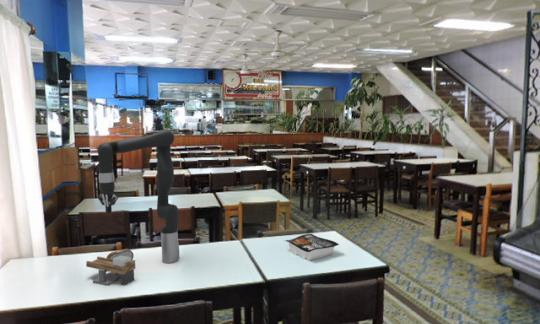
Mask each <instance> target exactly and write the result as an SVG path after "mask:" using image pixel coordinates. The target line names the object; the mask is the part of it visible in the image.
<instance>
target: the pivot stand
mask: <svg viewBox="0 0 540 324" xmlns="http://www.w3.org/2000/svg"><path fill="white" fill-rule="evenodd" d="M119 281H120V285H125V286H128V285H129V284H131V283H132V282H134V281H135V269H133V270H131V271H129V272H128V273H126V274H124V275H123V274H119V273H114V272H108V273H107V272H106V270H105V269H98V278H96V279H93V280H92V283H94V284H97V285H102V286H106V287H109V286H111V285H112V284H115V283H117V282H119Z"/></svg>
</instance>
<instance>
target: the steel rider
mask: <svg viewBox="0 0 540 324" xmlns="http://www.w3.org/2000/svg"><path fill="white" fill-rule="evenodd" d="M130 261H131V257H127V256H122V255H120V256H117V257H115V258H113V266H115V267H120V268H122V265H124V264H126V263H128V262H130Z"/></svg>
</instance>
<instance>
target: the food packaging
mask: <svg viewBox="0 0 540 324" xmlns="http://www.w3.org/2000/svg"><path fill="white" fill-rule="evenodd" d="M283 241H284V242H286V243H288V247H289V250H290V252H291V253H293V254H294V255H298V256H299V257H301V258H303V260H304V259H306V260H308V261H313V260H316V259H319V258H325V257H327V256H331V255H333V252H334V250H335V247H336V246H339V245H340V244H339V243H338V242H336V241H334V240H331V239H327V238H323V237H320V236H316V235H315V234H313V233H306V234H302V235H299V236H297V237H295V238H291V239H288V240H287V239H286V240H283Z"/></svg>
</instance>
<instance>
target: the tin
mask: <svg viewBox="0 0 540 324" xmlns="http://www.w3.org/2000/svg"><path fill="white" fill-rule="evenodd" d="M120 255H122V256H127V257H131V261H132V260H134V257H135V256H134V252H133V251H132V250H131V249H129V248H123V249H120V250H115V251H111V252H110V253H109V254H107V256H106V258H109V259H113V258H115V257H117V256H120Z"/></svg>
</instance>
